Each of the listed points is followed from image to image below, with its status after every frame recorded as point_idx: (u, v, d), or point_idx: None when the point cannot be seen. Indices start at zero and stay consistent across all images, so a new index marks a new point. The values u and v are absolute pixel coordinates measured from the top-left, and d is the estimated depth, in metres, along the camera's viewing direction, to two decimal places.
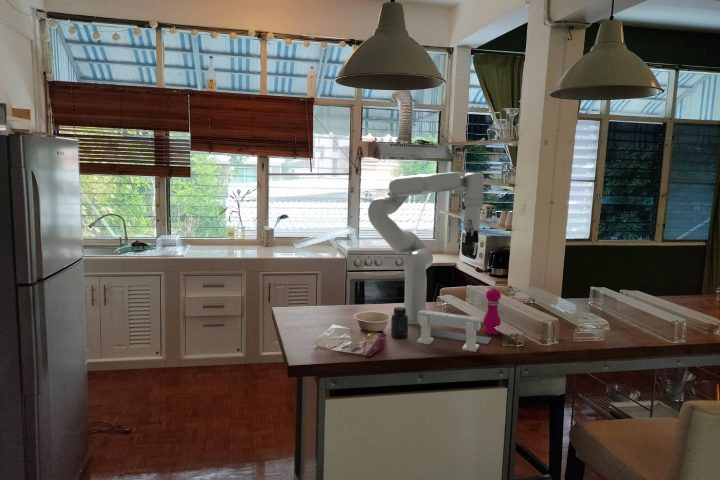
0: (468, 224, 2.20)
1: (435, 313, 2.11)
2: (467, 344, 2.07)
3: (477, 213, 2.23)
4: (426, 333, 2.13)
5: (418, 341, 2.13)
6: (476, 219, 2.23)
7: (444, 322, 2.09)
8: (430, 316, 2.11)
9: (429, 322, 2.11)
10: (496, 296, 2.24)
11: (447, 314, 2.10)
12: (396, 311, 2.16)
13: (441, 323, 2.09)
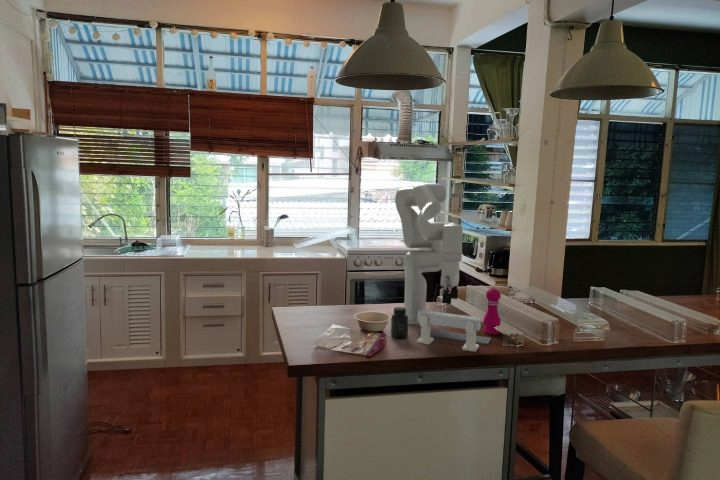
0: (445, 281, 2.01)
1: (435, 313, 2.11)
2: (467, 344, 2.07)
3: (455, 268, 2.04)
4: (426, 333, 2.13)
5: (418, 341, 2.13)
6: (454, 275, 2.03)
7: (444, 322, 2.09)
8: (430, 316, 2.11)
9: (429, 322, 2.11)
10: (496, 296, 2.24)
11: (447, 314, 2.10)
12: (396, 311, 2.16)
13: (441, 323, 2.09)
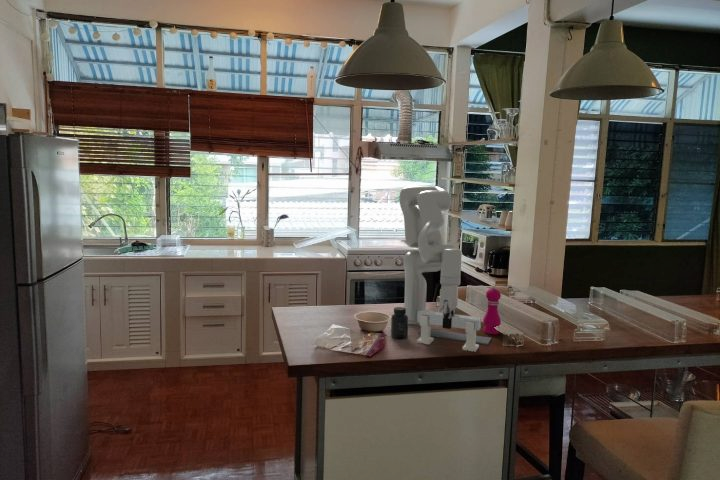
0: (444, 309, 2.03)
1: (435, 313, 2.11)
2: (467, 344, 2.07)
3: (454, 292, 2.05)
4: (426, 333, 2.13)
5: (418, 341, 2.13)
6: (453, 299, 2.05)
7: None
8: (430, 316, 2.11)
9: (429, 322, 2.11)
10: (496, 296, 2.24)
11: None
12: (396, 311, 2.16)
13: (441, 323, 2.09)
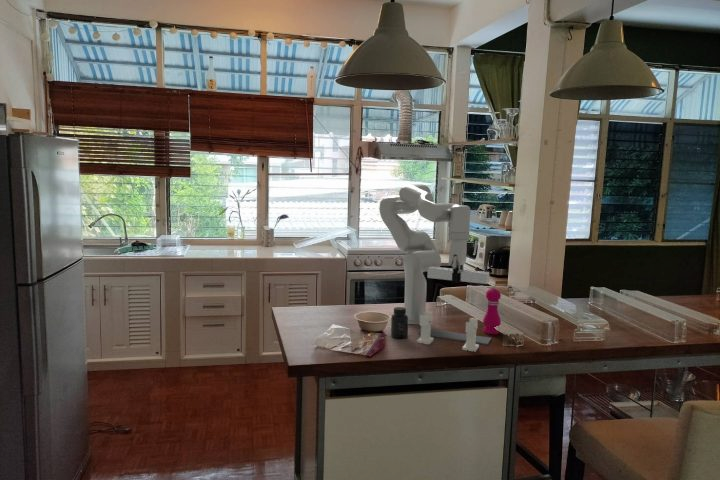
0: (454, 264, 2.11)
1: (445, 269, 2.19)
2: (467, 344, 2.07)
3: (463, 247, 2.13)
4: (426, 333, 2.13)
5: (418, 341, 2.13)
6: (462, 254, 2.13)
7: None
8: (440, 272, 2.18)
9: (439, 277, 2.19)
10: (496, 296, 2.24)
11: None
12: (396, 311, 2.16)
13: (450, 278, 2.17)
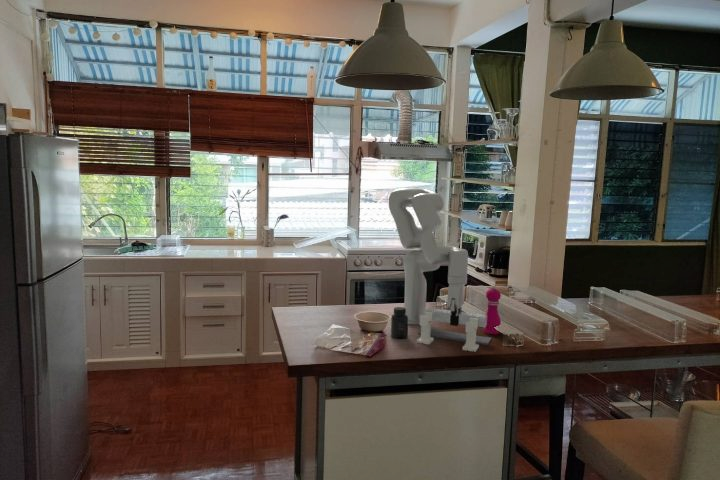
0: (452, 307, 2.14)
1: (443, 311, 2.21)
2: (467, 344, 2.07)
3: (461, 291, 2.16)
4: (426, 333, 2.13)
5: (418, 341, 2.13)
6: (460, 297, 2.15)
7: None
8: (438, 314, 2.21)
9: (437, 319, 2.21)
10: (496, 296, 2.24)
11: None
12: (396, 311, 2.16)
13: (449, 320, 2.19)
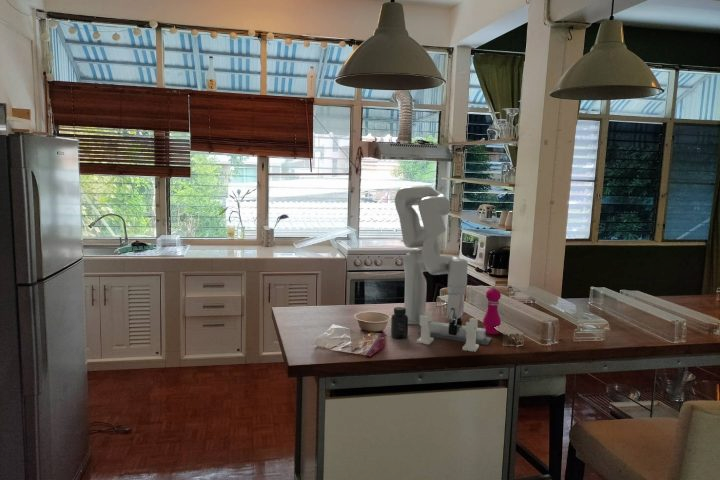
0: (451, 315, 2.13)
1: (442, 324, 2.22)
2: (467, 344, 2.07)
3: (460, 301, 2.16)
4: (426, 333, 2.13)
5: (418, 341, 2.13)
6: (459, 307, 2.16)
7: None
8: (438, 327, 2.22)
9: (436, 333, 2.22)
10: (496, 296, 2.24)
11: None
12: (396, 311, 2.16)
13: (448, 334, 2.20)
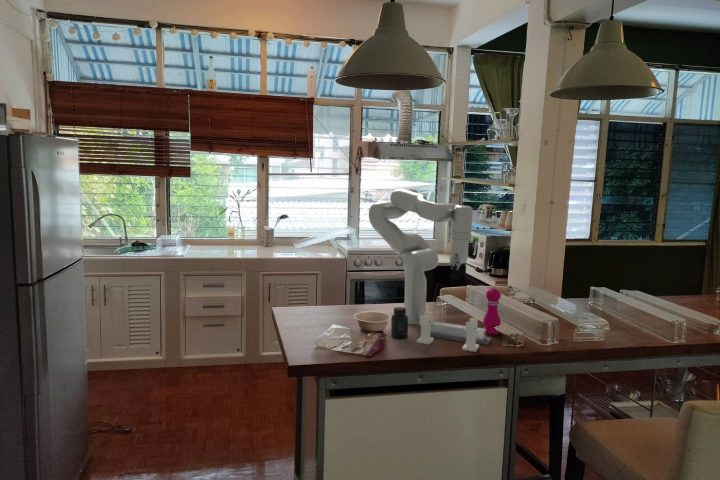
0: (454, 258, 2.17)
1: (442, 324, 2.22)
2: (467, 344, 2.07)
3: (464, 247, 2.19)
4: (426, 333, 2.13)
5: (418, 341, 2.13)
6: (463, 253, 2.19)
7: (451, 333, 2.20)
8: (438, 327, 2.22)
9: (436, 333, 2.22)
10: (496, 296, 2.24)
11: (453, 325, 2.21)
12: (396, 311, 2.16)
13: (448, 334, 2.20)
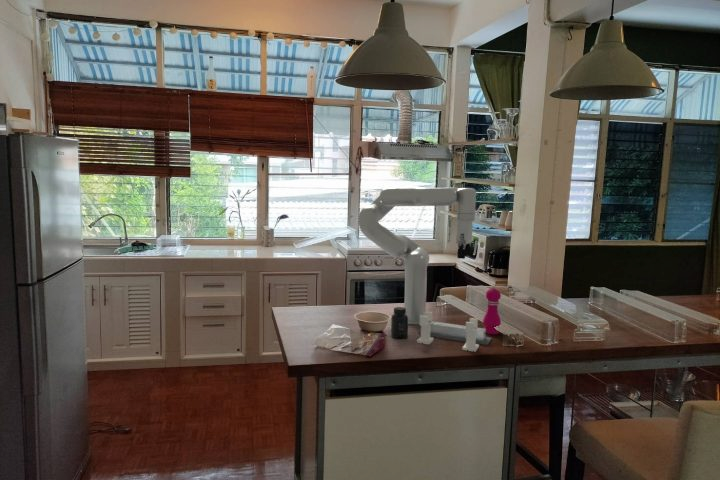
0: (460, 238, 2.26)
1: (442, 324, 2.22)
2: (467, 344, 2.07)
3: (469, 227, 2.29)
4: (426, 333, 2.13)
5: (418, 341, 2.13)
6: (468, 233, 2.29)
7: (451, 333, 2.20)
8: (438, 327, 2.22)
9: (436, 333, 2.22)
10: (496, 296, 2.24)
11: (453, 325, 2.21)
12: (396, 311, 2.16)
13: (448, 334, 2.20)
